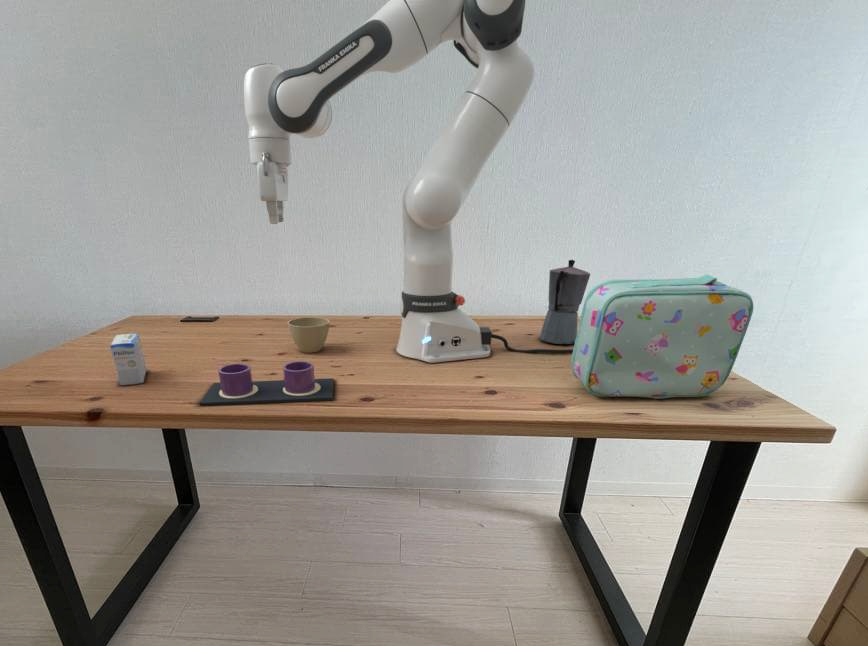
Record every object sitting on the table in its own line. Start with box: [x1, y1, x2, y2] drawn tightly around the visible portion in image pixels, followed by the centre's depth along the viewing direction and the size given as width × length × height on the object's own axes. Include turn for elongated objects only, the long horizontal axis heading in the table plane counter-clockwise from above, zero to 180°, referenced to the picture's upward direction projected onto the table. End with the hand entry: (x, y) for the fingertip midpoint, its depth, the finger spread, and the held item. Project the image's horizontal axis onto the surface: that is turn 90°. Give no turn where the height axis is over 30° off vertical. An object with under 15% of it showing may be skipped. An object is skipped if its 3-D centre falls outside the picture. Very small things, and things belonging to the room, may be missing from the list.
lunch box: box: [570, 274, 755, 400], centre depth 82 cm, size 27×10×21 cm, turn 90°
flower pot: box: [287, 316, 331, 354], centre depth 111 cm, size 10×10×7 cm
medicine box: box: [109, 333, 147, 386], centre depth 94 cm, size 8×4×9 cm, turn 21°
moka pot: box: [539, 259, 591, 345], centre depth 113 cm, size 10×15×20 cm, turn 148°
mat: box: [199, 377, 335, 407], centre depth 88 cm, size 24×10×1 cm, turn 94°
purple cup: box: [282, 360, 316, 394], centre depth 87 cm, size 6×6×4 cm
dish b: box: [217, 363, 254, 396], centre depth 86 cm, size 6×6×4 cm
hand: (277, 223), depth 106 cm, fingers open, 8 cm apart
